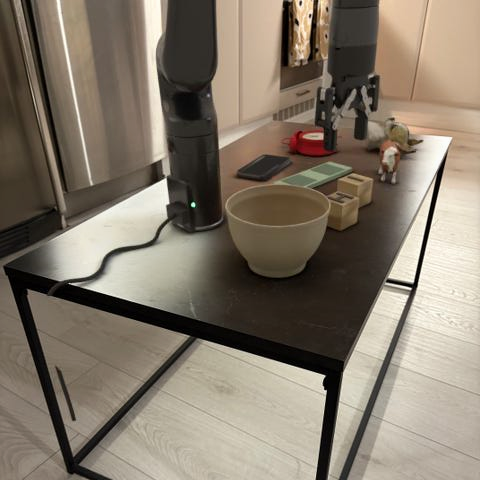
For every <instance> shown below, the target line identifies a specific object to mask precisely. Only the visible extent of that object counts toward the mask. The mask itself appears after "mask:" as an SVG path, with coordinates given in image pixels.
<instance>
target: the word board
mask: <svg viewBox="0 0 480 480" xmlns="http://www.w3.org/2000/svg"><path fill="white" fill-rule="evenodd" d="M353 170H354V169H353V167H351V166H347V165H343V164H340V163H338V162H337V163H336V162H334V161H333V162H332V161H327V162H324V163H322V164H320V165H316V166H314V167H311V168H309V169H306V170H303V171H301V172H298V173H296V174H292V175H290V176H287V177H284V178H282V179H279V180H276V181H274V182H272V183H271V184H289V185H297V186H302V187H307V188H311V189H314V188H316V187H319V186H322V185H324V184H326V183H329V182H331V181H334V180H336V179H340V178H342V177H343V176H347V175H349V174H352V173H353Z"/></svg>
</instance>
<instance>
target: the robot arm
mask: <svg viewBox="0 0 480 480" xmlns="http://www.w3.org/2000/svg"><path fill="white" fill-rule="evenodd" d="M380 2H381V0H332V1H331V14H330V17H329V18H330V19H329V25H328V47H327V63H326V64H327V66H326V67H327V68H326V71H327V74H328V75H330V76H331V82H330V86H318V87H317V90H316V98H315V99H316V102H315V113H314V126H315V127H319V128H322V130H323V131H324V135H323V139H324V140H323V148H324V150H325V151H328V152H334V151H335V152H337V151H336V150H337V148H338V147H337V146H338V145H337V144H338V138H337V137H338V133H339V132H338V129H337V128H338V127H339V124H340V122H341V120H342V119H343V118H345V116H346V114H347V112H348V111H351V110H352V109H353V111H354V114H355V116H356V117H355V118H354V130H353V138H354V140H358V141H361V142H362V141H364V140H365V139H366V134H367V128H368V121H369V119H370V118H371V116H372V113H373V112H374V113H376V112H377V111H378V108H379V94H380V81H381V76H380V74H373V73H374V72H375V69H376V60H377V59H376V58H377V48H378V39H379V31H380V29H379V28H380ZM166 4H167V6H166V18H165V29H164V30H165V31H164V32H163V33H162V34H161V35H160V37H159V39H158V40H157V44H156V47H155V67H156V74H157V75H156V76H157V82H158V83H157V84H158V91H159V99H160V105H161V106H160V107H161V112H162V117H163V122H164V129H165V137H166V146H167V154H168V164H169V173H170V174H168V175H166V186H167V196H168V201H169V202H168V204H166V205H165V210H166V217H167V218H166V219H165V220H164V221H163V222H162V223H161V224H160V225H159V226H158V228H157V229H156V232H155V235H154V237H153V238H152V239H151V240H149V241H147V242H145V243H141V244H136V245H127V246H119V247H117V248H113V249H112V250H110V251H108V252H107V253H106V254H105V255H104V257H103V259H102V260H101V264H100V267H99V268H98V270H96V271H95V272H94V273H92V274H91V275H88V276H83V277H75V278H68V279H64V280H61V281H58V282H57V283H55V284H53V286H52V287H51V288H50V289H49V290H48V292H47V293H46V296H47V297H51V296H53V295H54V293H55V292H56V291H57V290H58V289H59V288H61V287H63V286H65V285H66V286H67V285H69V283H70V284H78V283H86V282H90V281H93V280H95V279H97V278H98V277H99V276H100V275H102V273H103V272H104V270H105V268H106V265H107V263H108V261H109V259H110V258H111V257H112V256H114V255H115V254H118V253H120V252H125V251H133V250H134V251H135V250H139V249H145V248H148V247H150V246H152V245H153V244H156V242H157V241H158V240H159V238H160V236H161V233H162V230H163V229H164V228H165V227H166V226H167V225H168V224H170V222H171V225H174V226H176V227H178V228H180V229H182V230H184V231H186V232H188V233H193V232H199V231H207V230H212V229H214V228H217V227H219V226H220V225H221V224H222V223H223V221H224V214H223V199H222V198H223V197H222V182H221V181H222V180H221V179H222V178H221V162H220V160H221V159H220V143H219V142H220V140H219V124H218V123H219V121H218V114H217V110H216V106H215V102H214V97H213V86H212V82H213V80H214V78H215V76H216V74H217V71H218V65H219V46H218V45H219V43H218V17H217V15H218V14H217V0H167V3H166ZM370 98H371V101H370ZM334 107H335V108H334ZM323 113H324V117H323ZM332 117H333V119H332ZM365 141H366V140H365ZM335 152H334V153H335ZM54 368H55V371H56V374H57V375H56V376H57V378H58V381H59V384H60V386H61V390H62V393H63V395H64V398H65V402H66V405H67V408H68V412H69V415H70V419H71V421H72V422H76V421H77V417H76V414H75V410H74V406H73V404H72V400H71V397H70V394H69V390H68V388H67V385H66V382H65V379H64V376H63V375H64V374H63V372H62V370H61V369H60V368H59V367H58V366H57V365H56V364H54Z"/></svg>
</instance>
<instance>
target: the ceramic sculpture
mask: <svg viewBox="0 0 480 480" xmlns="http://www.w3.org/2000/svg"><path fill="white" fill-rule="evenodd" d="M387 140H390V141H392V142H393V143H394V144H395V145H396V147H397V149H398V151H399V153H400V154H401V155H400V156H403V155H405V156H406V155H409V154H415V153H417V150H416V149H414V148H412V147H414V146H416V145H419V144H422V143H424V139H416V138H413V137H411V136H410V129H409V127H408V126H407V125H406V124H405V123H403V122H396V118H395V117H388V118H386V119H384V120H383V121H382V122H381V123H376V122H374V121H371V120H368V128H367V134H366V139H365V144H366V148H367V150H368V151H372V150H374V149H380V148H381V145H382V144H383V143H384V142H386V141H387Z"/></svg>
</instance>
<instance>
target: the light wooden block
mask: <svg viewBox="0 0 480 480" xmlns="http://www.w3.org/2000/svg"><path fill="white" fill-rule="evenodd" d="M325 196H326V197H327V198H328V199H329V201H330V204H331V208H330V213H329V215H328V221H327V226H326V227H328V228H330V229H334V230H337V231H339V232H341V231H343V230H345V229H347V228H349V227H351V226H353V225H356V224H357V223H358V216H359V215H358V214H359V208H358V206H359V198H358V197H355V196H352V195H348V194H345V193H342V192H339V191H338V192H337V191H335V192H333V193H331V194H329V195H325Z"/></svg>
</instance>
